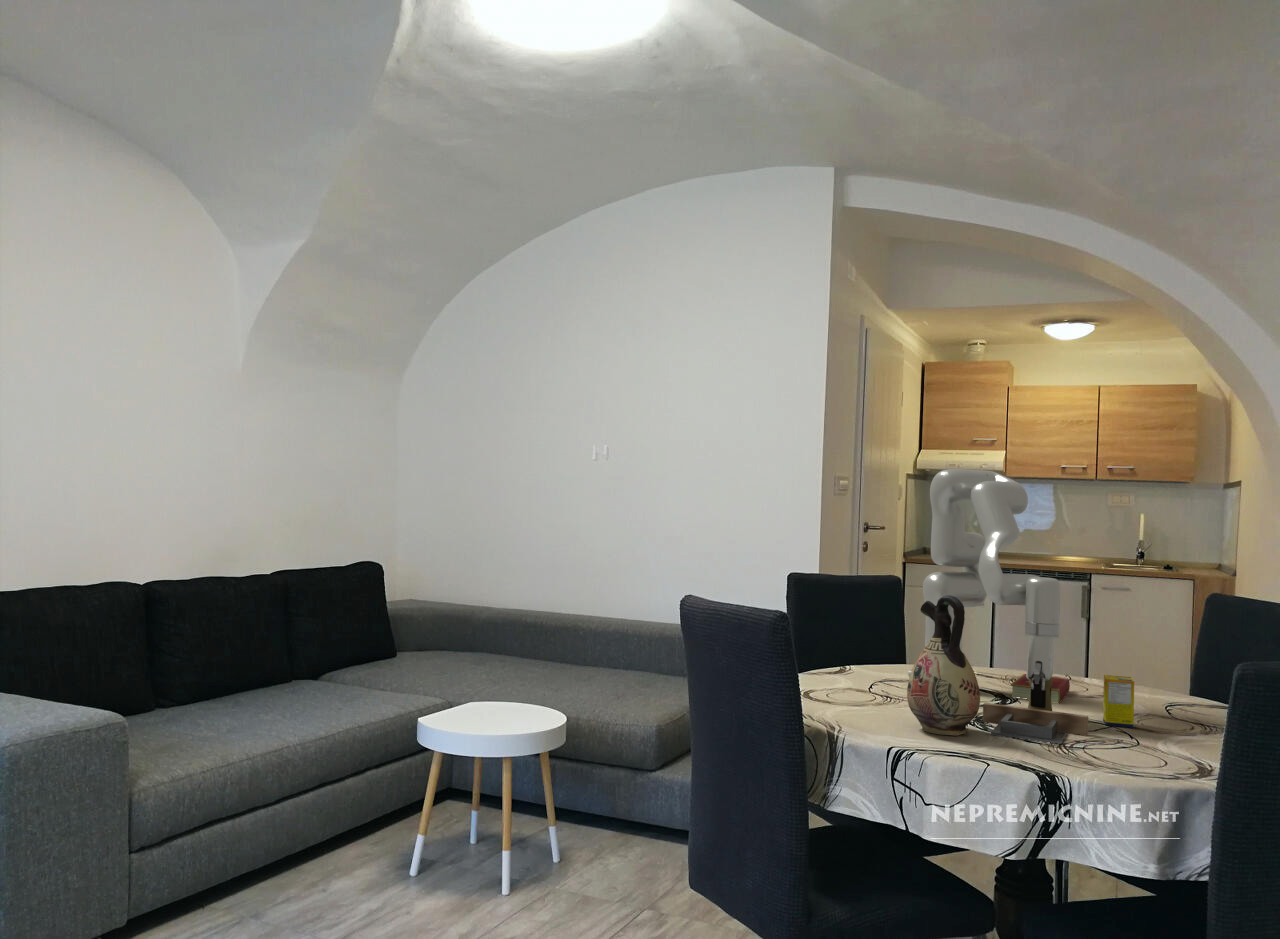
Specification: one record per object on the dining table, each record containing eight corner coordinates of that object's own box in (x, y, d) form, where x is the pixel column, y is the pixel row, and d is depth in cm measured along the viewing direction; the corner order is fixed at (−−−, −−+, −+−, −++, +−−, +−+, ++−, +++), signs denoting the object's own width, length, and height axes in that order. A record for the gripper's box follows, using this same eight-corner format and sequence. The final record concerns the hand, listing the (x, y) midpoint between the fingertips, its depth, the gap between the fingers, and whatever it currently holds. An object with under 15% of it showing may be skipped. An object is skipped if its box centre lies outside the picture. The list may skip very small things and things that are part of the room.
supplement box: (1130, 723, 232) (1131, 676, 232) (1133, 728, 226) (1134, 680, 227) (1102, 720, 234) (1103, 674, 234) (1105, 725, 228) (1106, 678, 229)
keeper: (990, 734, 214) (991, 720, 214) (1000, 724, 225) (1000, 711, 225) (1060, 744, 208) (1060, 729, 208) (1066, 733, 218) (1067, 719, 218)
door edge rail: (982, 721, 228) (983, 703, 228) (984, 719, 229) (984, 702, 230) (1087, 735, 217) (1087, 717, 217) (1087, 734, 219) (1088, 715, 219)
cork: (1021, 717, 234) (1022, 670, 234) (1045, 718, 234) (1046, 671, 235) (1033, 723, 228) (1034, 675, 228) (1058, 723, 228) (1059, 676, 229)
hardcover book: (1069, 693, 271) (1069, 677, 271) (1059, 705, 252) (1060, 689, 253) (1023, 687, 277) (1023, 672, 277) (1010, 699, 258) (1010, 683, 258)
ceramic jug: (891, 724, 221) (895, 590, 221) (948, 721, 226) (952, 590, 227) (939, 743, 205) (944, 598, 206) (999, 739, 210) (1003, 598, 211)
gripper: (1030, 625, 241) (1029, 696, 240) (1019, 632, 226) (1018, 707, 225) (1063, 628, 237) (1062, 700, 237) (1055, 635, 222) (1053, 712, 221)
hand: (1040, 703), depth 231 cm, fingers open, 9 cm apart
